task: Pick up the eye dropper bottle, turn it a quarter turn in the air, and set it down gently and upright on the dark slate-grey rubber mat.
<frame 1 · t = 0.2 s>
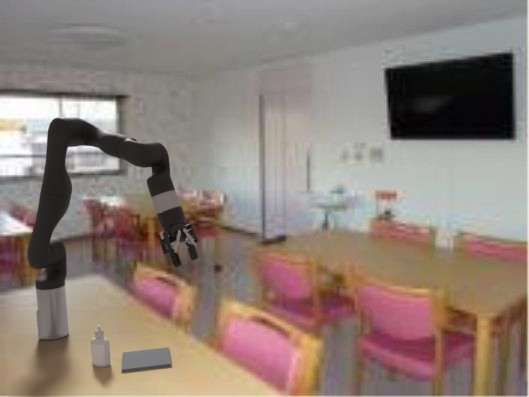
hand: (187, 262, 152), 31 cm above the table, tool tilted 20°, fingers open, 8 cm apart
eye dropper bottle: (101, 365, 158), on the table
slate mat: (146, 360, 160), on the table
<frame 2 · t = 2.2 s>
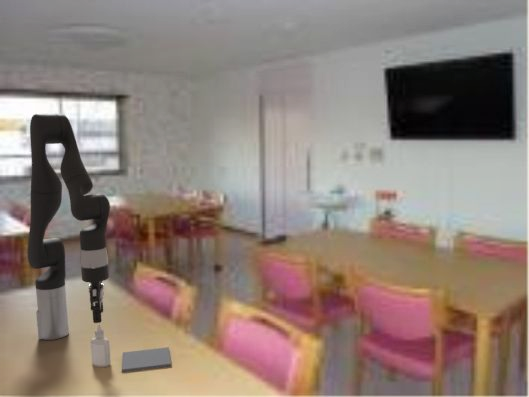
hand: (98, 317, 156), 15 cm above the table, tool pointing down, fingers open, 8 cm apart
nothing on the table moved.
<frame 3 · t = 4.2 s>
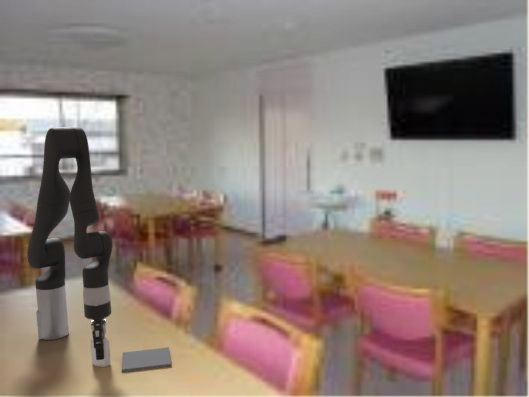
hand: (100, 355, 158), 3 cm above the table, tool pointing down, fingers closed on eye dropper bottle, 4 cm apart
eye dropper bottle: (101, 364, 158), on the table, touching gripper
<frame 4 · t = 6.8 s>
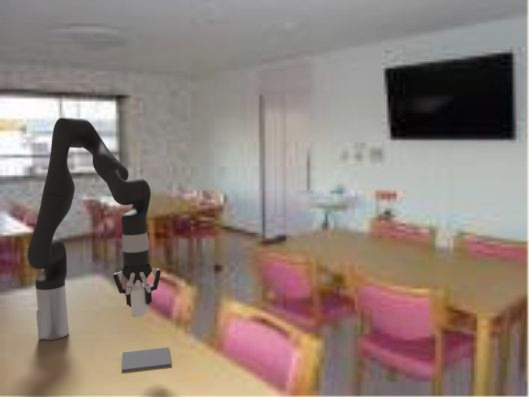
hand: (139, 304, 157), 18 cm above the table, tool pointing down, fingers closed on eye dropper bottle, 4 cm apart
eye dropper bottle: (140, 314, 157), point 15 cm above the table, touching gripper
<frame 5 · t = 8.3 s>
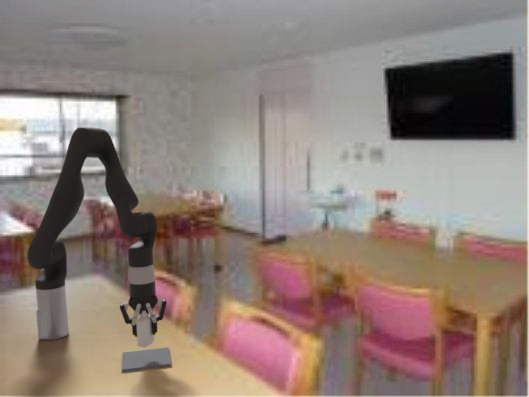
hand: (145, 334, 159), 8 cm above the table, tool pointing down, fingers closed on eye dropper bottle, 4 cm apart
eye dropper bottle: (146, 344, 160), point 5 cm above the table, touching gripper
when the fingers open (5 cm above the table, at t = 9.5 s): eye dropper bottle stays where it is, resting on slate mat.
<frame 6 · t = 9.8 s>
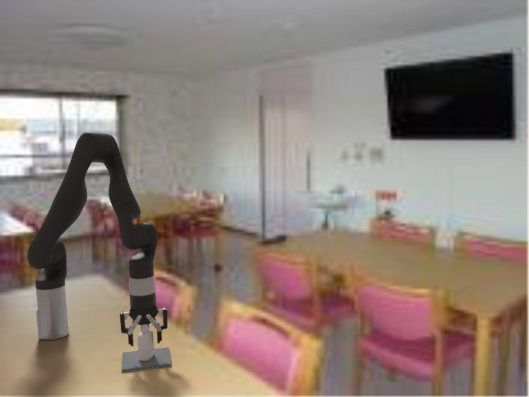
hand: (145, 343, 160), 5 cm above the table, tool pointing down, fingers open, 7 cm apart
eye dropper bottle: (146, 358, 160), point 1 cm above the table, touching slate mat
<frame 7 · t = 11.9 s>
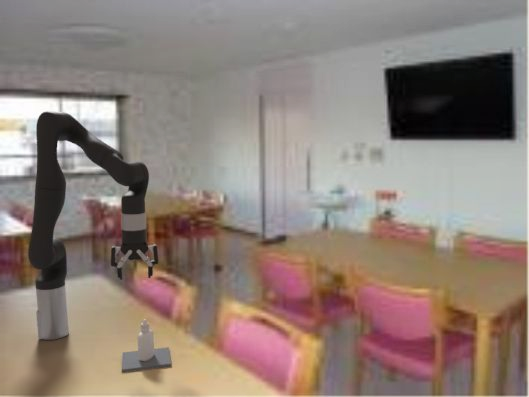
hand: (135, 278, 166), 23 cm above the table, tool pointing down, fingers open, 8 cm apart
nothing on the table moved.
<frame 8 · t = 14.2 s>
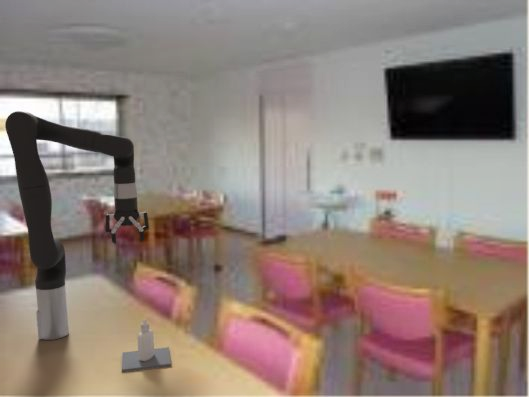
hand: (128, 242, 183), 30 cm above the table, tool pointing down, fingers open, 8 cm apart
nothing on the table moved.
at the end: eye dropper bottle inside the target area on the slate mat (0.2 cm from its centre), point 0.6 cm above the slate mat's base; eye dropper bottle tilted 0°; the gripper is holding nothing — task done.
